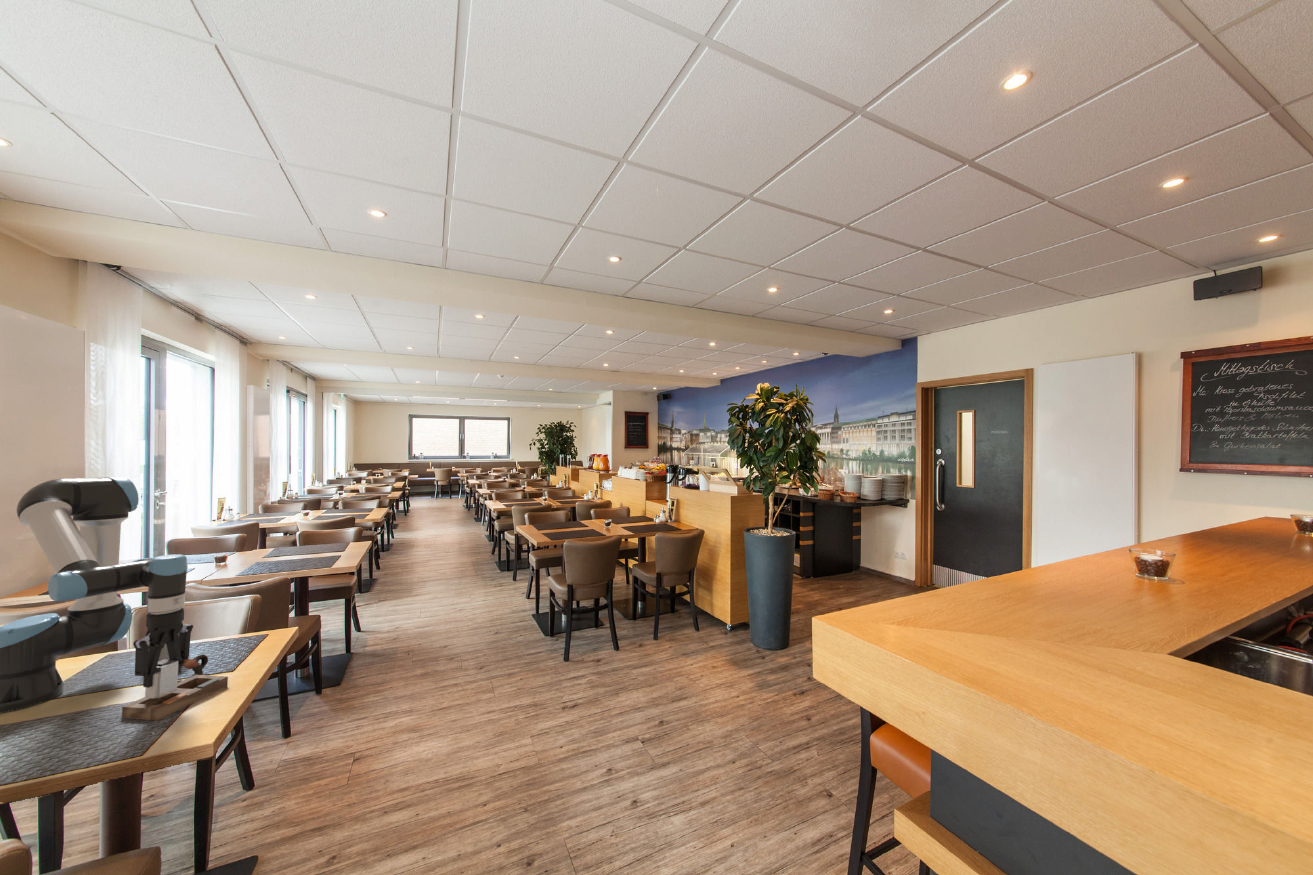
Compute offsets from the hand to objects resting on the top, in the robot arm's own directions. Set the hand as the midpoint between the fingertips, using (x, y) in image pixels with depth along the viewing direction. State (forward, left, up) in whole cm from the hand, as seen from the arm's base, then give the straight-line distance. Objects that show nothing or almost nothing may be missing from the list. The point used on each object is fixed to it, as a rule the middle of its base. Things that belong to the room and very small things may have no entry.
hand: (161, 692), depth 133 cm
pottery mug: (-12, +17, -5) cm, 21 cm away
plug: (0, 0, 0) cm, 0 cm away
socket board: (0, +4, -5) cm, 6 cm away
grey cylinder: (-30, +25, -5) cm, 40 cm away
